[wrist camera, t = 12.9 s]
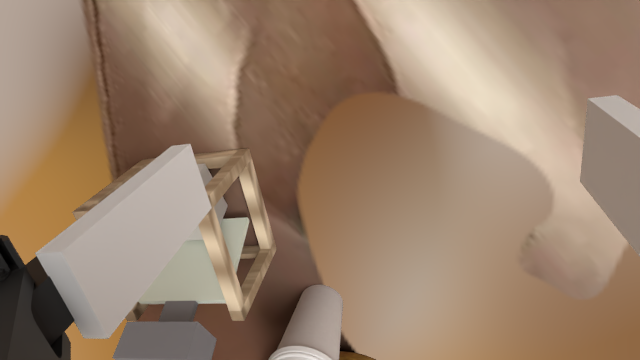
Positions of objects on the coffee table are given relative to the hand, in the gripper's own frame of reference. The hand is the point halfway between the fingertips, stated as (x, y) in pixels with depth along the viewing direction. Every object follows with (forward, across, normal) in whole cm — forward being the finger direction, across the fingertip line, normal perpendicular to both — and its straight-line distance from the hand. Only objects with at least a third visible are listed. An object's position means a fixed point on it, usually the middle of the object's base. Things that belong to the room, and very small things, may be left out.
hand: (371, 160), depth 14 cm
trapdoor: (+25, -28, -27) cm, 46 cm away
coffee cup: (+35, -15, -38) cm, 54 cm away
